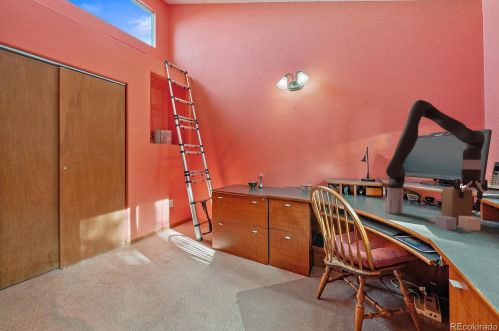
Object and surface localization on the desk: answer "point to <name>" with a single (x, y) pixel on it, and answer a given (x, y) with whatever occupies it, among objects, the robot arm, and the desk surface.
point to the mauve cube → (445, 222)
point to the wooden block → (456, 203)
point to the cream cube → (469, 222)
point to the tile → (431, 220)
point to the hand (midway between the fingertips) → (470, 198)
